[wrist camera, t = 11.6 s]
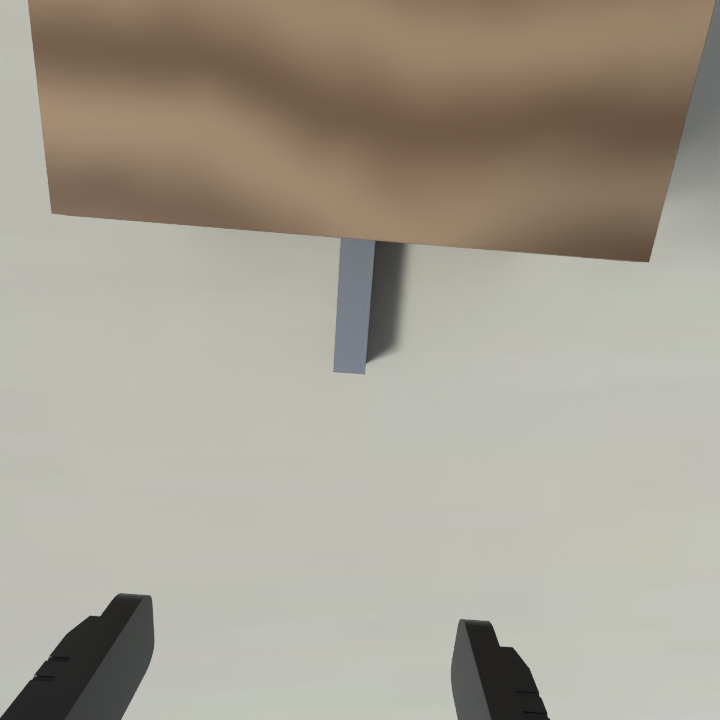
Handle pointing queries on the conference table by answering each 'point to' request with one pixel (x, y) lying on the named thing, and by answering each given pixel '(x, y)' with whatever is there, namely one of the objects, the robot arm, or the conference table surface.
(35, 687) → the robot arm
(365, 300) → the scraper
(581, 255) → the cabinet
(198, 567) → the conference table surface
